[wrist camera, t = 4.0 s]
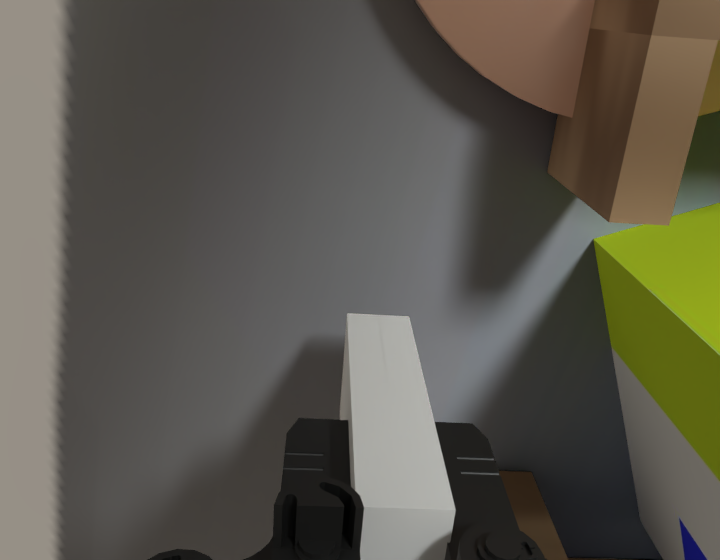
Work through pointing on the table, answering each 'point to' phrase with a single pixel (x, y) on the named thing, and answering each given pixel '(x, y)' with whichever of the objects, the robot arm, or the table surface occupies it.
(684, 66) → the pocket frame
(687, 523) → the puzzle toy
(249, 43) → the table surface
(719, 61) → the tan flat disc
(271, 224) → the table surface
